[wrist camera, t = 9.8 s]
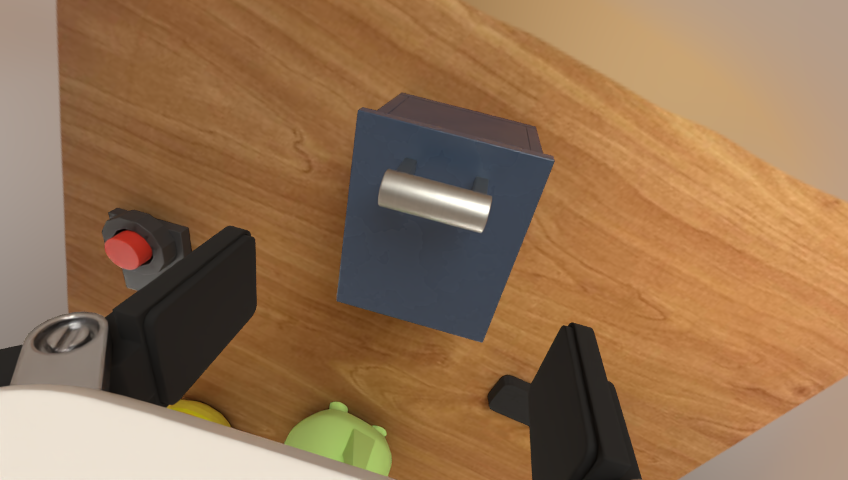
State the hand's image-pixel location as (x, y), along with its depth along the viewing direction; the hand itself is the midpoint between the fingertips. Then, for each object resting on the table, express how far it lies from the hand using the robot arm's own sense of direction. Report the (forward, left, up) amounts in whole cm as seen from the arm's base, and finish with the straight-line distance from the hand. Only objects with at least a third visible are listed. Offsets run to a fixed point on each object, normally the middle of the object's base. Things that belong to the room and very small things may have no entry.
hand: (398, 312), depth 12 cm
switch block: (+22, -29, -22) cm, 43 cm away
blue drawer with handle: (+4, 0, -12) cm, 13 cm away
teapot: (+43, -5, -22) cm, 49 cm away
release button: (+19, -29, -20) cm, 40 cm away
